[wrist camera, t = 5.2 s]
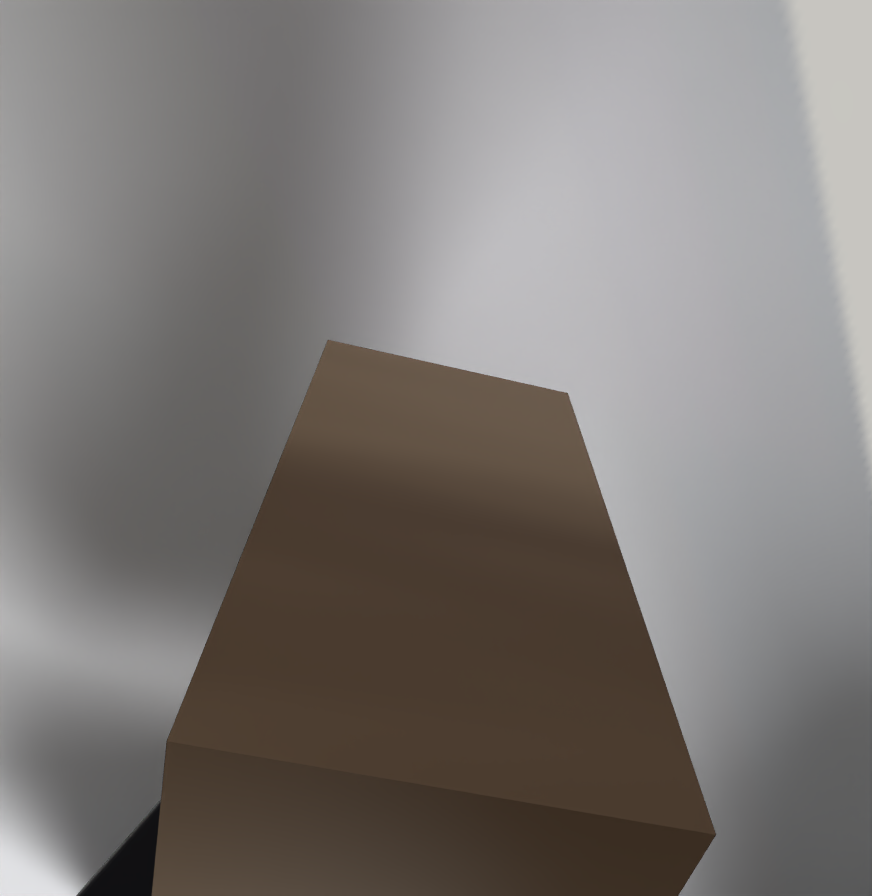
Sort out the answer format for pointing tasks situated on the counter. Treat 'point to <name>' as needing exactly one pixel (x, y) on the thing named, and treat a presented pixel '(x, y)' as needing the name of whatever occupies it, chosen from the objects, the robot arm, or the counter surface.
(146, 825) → the robot arm
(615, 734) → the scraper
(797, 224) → the counter surface
